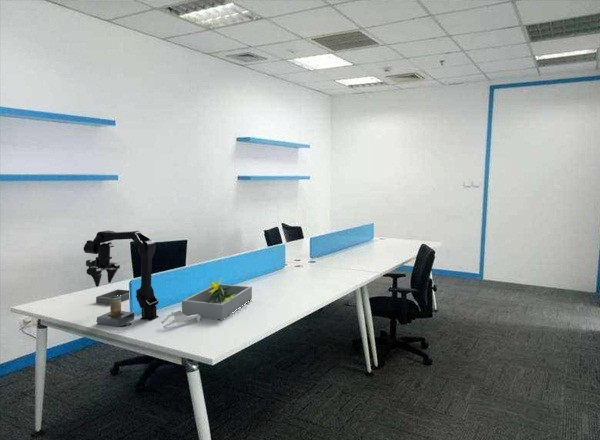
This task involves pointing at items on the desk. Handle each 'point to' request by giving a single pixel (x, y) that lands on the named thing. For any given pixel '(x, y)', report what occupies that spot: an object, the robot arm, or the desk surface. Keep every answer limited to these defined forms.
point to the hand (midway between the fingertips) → (103, 284)
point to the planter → (214, 310)
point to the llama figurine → (179, 317)
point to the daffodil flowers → (218, 291)
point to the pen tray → (106, 297)
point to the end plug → (115, 306)
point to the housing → (115, 319)
